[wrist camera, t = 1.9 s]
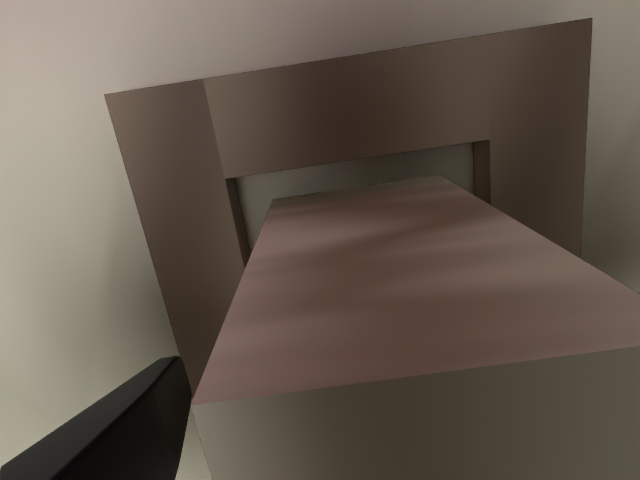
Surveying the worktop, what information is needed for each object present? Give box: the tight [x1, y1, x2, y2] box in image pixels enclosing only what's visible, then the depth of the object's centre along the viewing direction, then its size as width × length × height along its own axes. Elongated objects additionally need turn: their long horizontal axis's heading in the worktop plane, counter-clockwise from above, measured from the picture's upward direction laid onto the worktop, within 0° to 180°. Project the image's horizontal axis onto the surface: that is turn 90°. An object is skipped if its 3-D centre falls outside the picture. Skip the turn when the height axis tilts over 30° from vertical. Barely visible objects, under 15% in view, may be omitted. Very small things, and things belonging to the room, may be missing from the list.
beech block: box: [190, 175, 640, 480], centre depth 9 cm, size 5×5×9 cm
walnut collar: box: [104, 18, 593, 398], centre depth 13 cm, size 12×12×1 cm
